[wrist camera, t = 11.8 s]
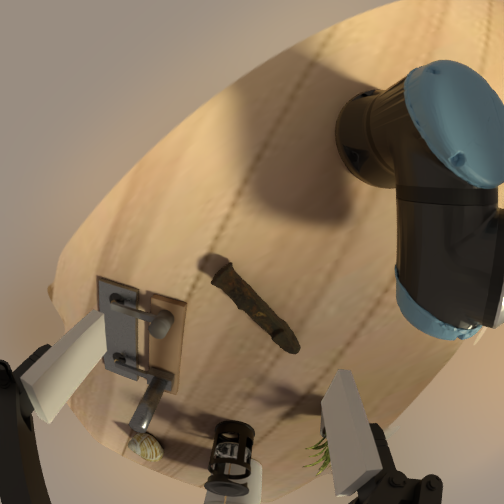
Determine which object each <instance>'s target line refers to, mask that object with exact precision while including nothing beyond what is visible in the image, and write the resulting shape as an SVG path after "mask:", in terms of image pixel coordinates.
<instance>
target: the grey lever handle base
mask: <svg viewBox="0 0 504 504" xmlns="http://www.w3.org/2000/svg"><path fill="white" fill-rule="evenodd" d="M186 308H187V303H185V302H181V301H178V300H174V299H170V298H167V297H163V296H159V295H156V294H154V295H153V296H152V297H151V309H150V313H147V312H144V311H141V310H137V309H134V308H131V307H128V306H125V305H122V304H119V303H117V302H116V301H115V300H113V301H111V309H112V310H114V311H117V312H120V313H123V314H126V315H129V316H132V317H135V318H138V319H141V320H144V321H148V322H150V325H149V327H148V330H149V369H150V367H153V368H156V369H159V370H162V371H166V372H169V373H172V374H175V380H174V386H173V388H172V391H167V390H164V392H167V393H171V394H174V395H176V394H177V392H178V385H179V373H180V362H181V351H182V342H183V333H184V324H185V316H186Z"/></svg>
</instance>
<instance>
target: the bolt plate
mask: <svg viewBox="0 0 504 504" xmlns="http://www.w3.org/2000/svg"><path fill="white" fill-rule="evenodd" d="M113 300H115V301H116V302H117V303H119V304H122V305H125V306H128V307H131V308H134V309H137V310H138V304H139V289H135V288H132V287H129V286H126V285H122V284H119V283H116V282H113V281H110V280H107V279H103V278H101V279H100V280H99V306H100V312H101V313H104V321H105V335H106V346H107V352H106V353H105V354H104V362H105V369H107V370H109V371H112V372H114V373H117V374H119V375H122V376H124V377H127V378H129V379H132V380H135V381H138V379H139V376H138V375H135V374H132V373H130V372H127V371H124V370H122V369H119V368H117V367H115V363H114V360H115V359H119V361H120V362H122V363H124V364H127V365H130V366H132V367H135V368H138V369H139V364H138V318H135V317H132V316H129V315H126V314H123V313H120V312H117V311H114V310H112V309H111V301H113Z"/></svg>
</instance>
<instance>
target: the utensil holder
mask: <svg viewBox="0 0 504 504" xmlns="http://www.w3.org/2000/svg"><path fill="white" fill-rule="evenodd" d="M244 462H246V459H245V460H244ZM229 464H230V463H226V465H225V471H224V474H228V471H229ZM250 466H251V475H250V476H249V477H247V478H244V479H239V480H231V481H232V482H236V483H239V484H243V483H246V482H247V483H248V486H247V487H248V488H249V493H248V494H247V495H244V496H238V497H229V496H227V497H226V503H225V504H261V489H262V466H261V464H260V463H259V462H257V461H256V460H254V459H251V465H250ZM214 467H215V464H214V465H213V469H214ZM245 469H246V468H245V467H242V466H240V465H236V464H231V469H230V475H241V474H245ZM211 475H213V474H212V473H211ZM229 480H230V479H229ZM224 498H225V496H222V495H217V494H214V493H212V492H210V491H208V490H207V493H206V497H205V501H204V504H224Z"/></svg>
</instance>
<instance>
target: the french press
mask: <svg viewBox="0 0 504 504" xmlns="http://www.w3.org/2000/svg"><path fill="white" fill-rule="evenodd" d="M226 432H234V433H240V435H239V440H232V439H228V438H226V437H224V436H223V435H222V434H221V433H226ZM254 436H255V431H254V429H253V428H252V427H251V426H250V425H248V424H246V423H243V422H239V421H224V422H221V423H219V424H218V425H217V426H216V428H215V437H214V443H213V448H212V452H211V457H210V462H209V465H208V470H209V472H210V473H212V474H213V475H211V476H209V477H208V481H207V482H206V483H205V485H204V487H205V489H207V490H208V491H210V492H212V493H214V494H217V495H222V496H225V498H224V504H225V503H226V497H227V496H229V497H238V496H244V495H247V494H248V493H249V488H248V487H247V486H248V483H247V482H246V483H243V484H239V483H236V482H232V481H231V480H239V479H244V478H247V477H249V476H250V475H251V466H250V465H251V453H252V446H253V440H254ZM215 454H216V455H217V456H216V459H214V457H215ZM245 459H246V462H244V460H245ZM226 463H230V464H229V471H228V474H224V471H225V465H226ZM213 464H215V467H214V469H212V468H211V465H213ZM231 464H236V465H240V466H242V467H245V468H246V469H245V474H241V475H230V469H231ZM229 479H230V480H229Z"/></svg>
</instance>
